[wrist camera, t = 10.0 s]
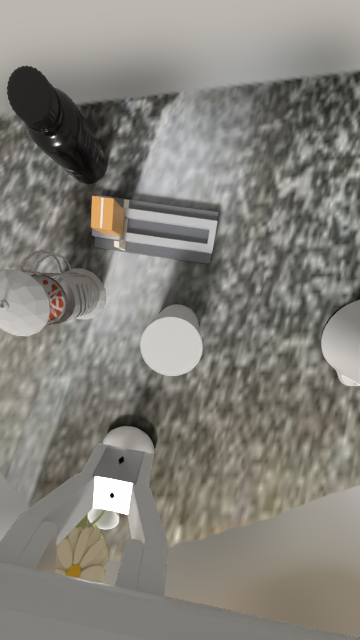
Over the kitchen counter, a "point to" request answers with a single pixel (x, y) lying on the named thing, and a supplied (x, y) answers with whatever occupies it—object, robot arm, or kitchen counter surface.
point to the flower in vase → (96, 521)
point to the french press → (47, 297)
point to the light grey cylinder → (172, 341)
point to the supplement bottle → (56, 125)
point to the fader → (107, 216)
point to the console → (163, 231)
